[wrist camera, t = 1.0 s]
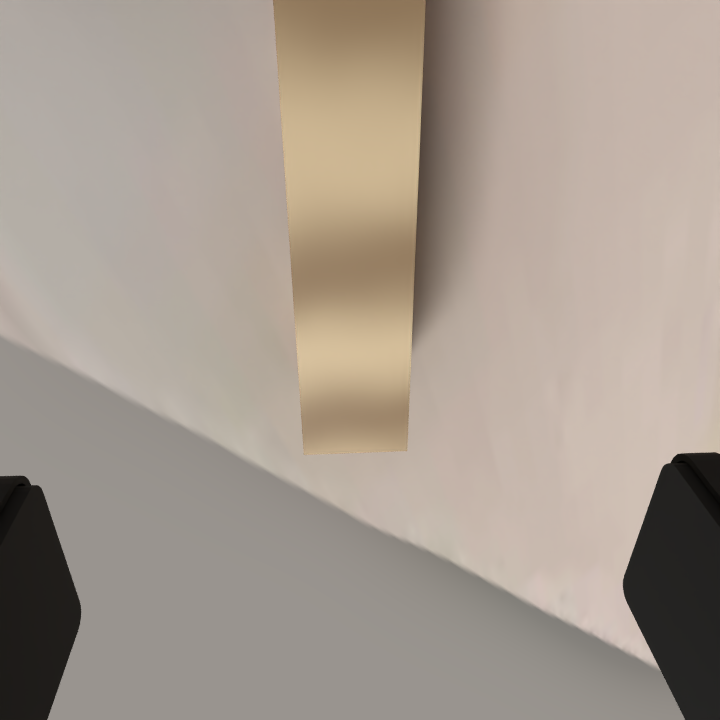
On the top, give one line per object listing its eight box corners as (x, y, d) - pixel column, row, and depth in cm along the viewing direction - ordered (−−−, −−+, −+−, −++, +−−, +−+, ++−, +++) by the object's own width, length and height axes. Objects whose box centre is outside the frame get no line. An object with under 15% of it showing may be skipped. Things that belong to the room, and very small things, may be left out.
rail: (280, -61, 20) (268, -71, 16) (404, -62, 21) (428, -72, 16) (306, 377, 29) (304, 454, 25) (393, 374, 29) (407, 450, 25)
